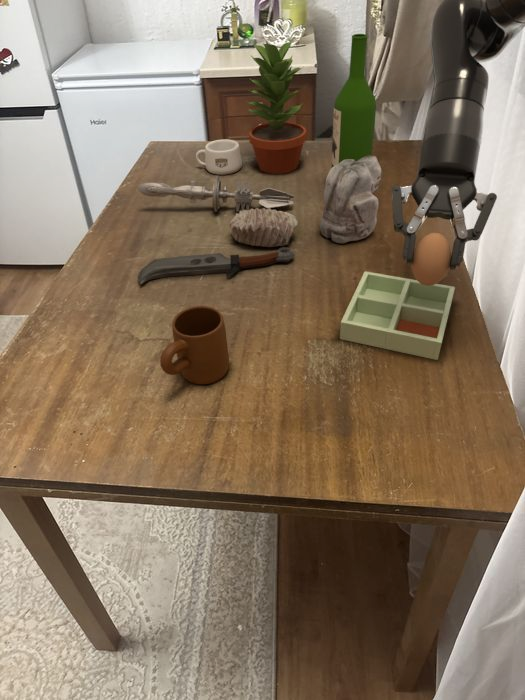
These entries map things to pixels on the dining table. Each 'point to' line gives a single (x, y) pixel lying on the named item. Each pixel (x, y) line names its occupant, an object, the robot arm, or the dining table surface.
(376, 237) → the dining table surface
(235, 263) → the knife
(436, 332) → the egg tray
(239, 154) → the mug
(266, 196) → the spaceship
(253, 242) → the seashell
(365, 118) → the wine bottle
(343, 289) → the dining table surface
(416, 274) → the egg
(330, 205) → the figurine
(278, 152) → the potted plant
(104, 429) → the dining table surface
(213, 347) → the mug
